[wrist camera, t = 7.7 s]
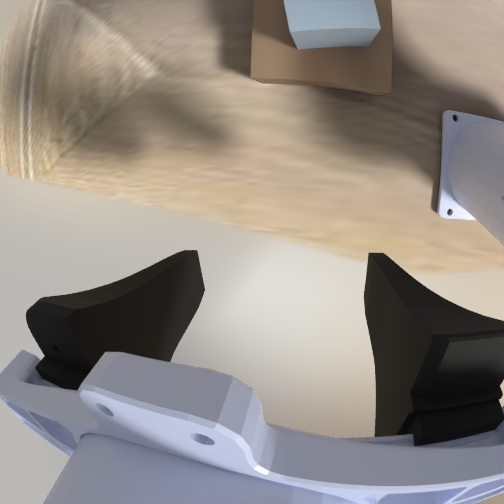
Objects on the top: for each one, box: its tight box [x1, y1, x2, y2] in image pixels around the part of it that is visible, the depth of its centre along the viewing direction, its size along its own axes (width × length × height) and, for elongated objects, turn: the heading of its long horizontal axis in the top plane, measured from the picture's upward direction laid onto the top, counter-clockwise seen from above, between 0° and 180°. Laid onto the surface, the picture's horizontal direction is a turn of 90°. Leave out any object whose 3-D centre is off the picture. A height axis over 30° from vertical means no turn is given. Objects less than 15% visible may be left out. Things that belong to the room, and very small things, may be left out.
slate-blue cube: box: [284, 0, 381, 50], centre depth 10 cm, size 4×4×4 cm
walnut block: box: [250, 0, 393, 96], centre depth 14 cm, size 8×8×4 cm
